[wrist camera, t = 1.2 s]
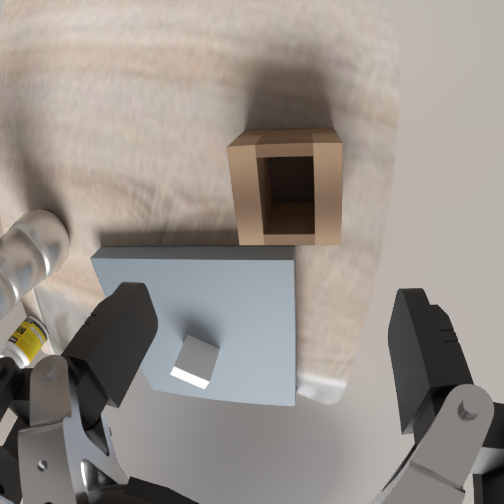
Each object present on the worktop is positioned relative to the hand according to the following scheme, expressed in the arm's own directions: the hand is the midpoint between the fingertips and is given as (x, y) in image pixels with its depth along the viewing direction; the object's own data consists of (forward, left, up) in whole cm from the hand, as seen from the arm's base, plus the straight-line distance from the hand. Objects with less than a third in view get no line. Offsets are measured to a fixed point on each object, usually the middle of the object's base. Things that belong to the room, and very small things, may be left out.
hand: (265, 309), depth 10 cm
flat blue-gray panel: (+16, -9, -14) cm, 23 cm away
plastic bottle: (+4, -24, -14) cm, 28 cm away
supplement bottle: (+20, -38, -14) cm, 45 cm away
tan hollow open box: (0, 0, -14) cm, 14 cm away
